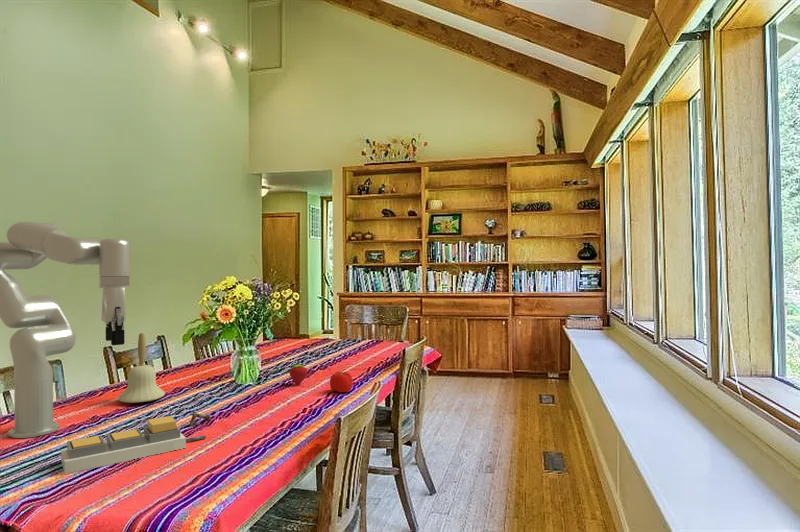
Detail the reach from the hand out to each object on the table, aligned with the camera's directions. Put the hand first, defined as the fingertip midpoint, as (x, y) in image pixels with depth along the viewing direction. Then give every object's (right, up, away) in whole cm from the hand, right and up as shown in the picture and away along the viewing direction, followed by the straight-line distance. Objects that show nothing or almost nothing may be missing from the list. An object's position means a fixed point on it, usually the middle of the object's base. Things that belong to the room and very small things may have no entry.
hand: (114, 342), depth 147 cm
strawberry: (+39, -28, +68) cm, 83 cm away
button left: (+1, -25, -15) cm, 29 cm away
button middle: (+8, -25, -10) cm, 28 cm away
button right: (+15, -23, -4) cm, 28 cm away
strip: (+11, -28, -8) cm, 31 cm away
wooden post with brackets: (+18, -29, +17) cm, 38 cm away
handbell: (-14, -28, +43) cm, 53 cm away
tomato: (+58, -28, +57) cm, 86 cm away
